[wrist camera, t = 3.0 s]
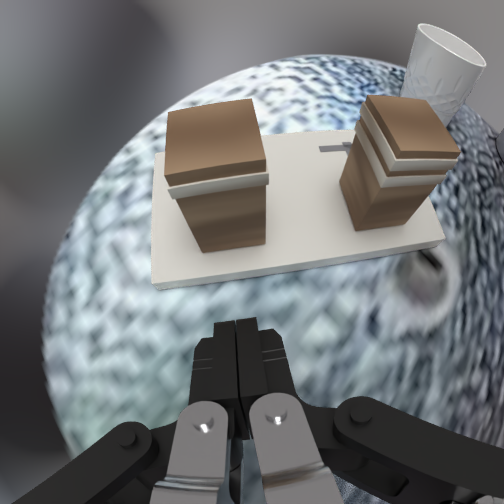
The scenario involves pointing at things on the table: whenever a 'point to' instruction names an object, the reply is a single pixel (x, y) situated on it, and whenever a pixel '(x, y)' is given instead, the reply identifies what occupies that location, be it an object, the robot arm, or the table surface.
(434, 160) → the two band post
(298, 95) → the table surface
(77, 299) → the table surface
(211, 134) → the one band post
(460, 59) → the white cup
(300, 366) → the table surface
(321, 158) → the white rectangular board
